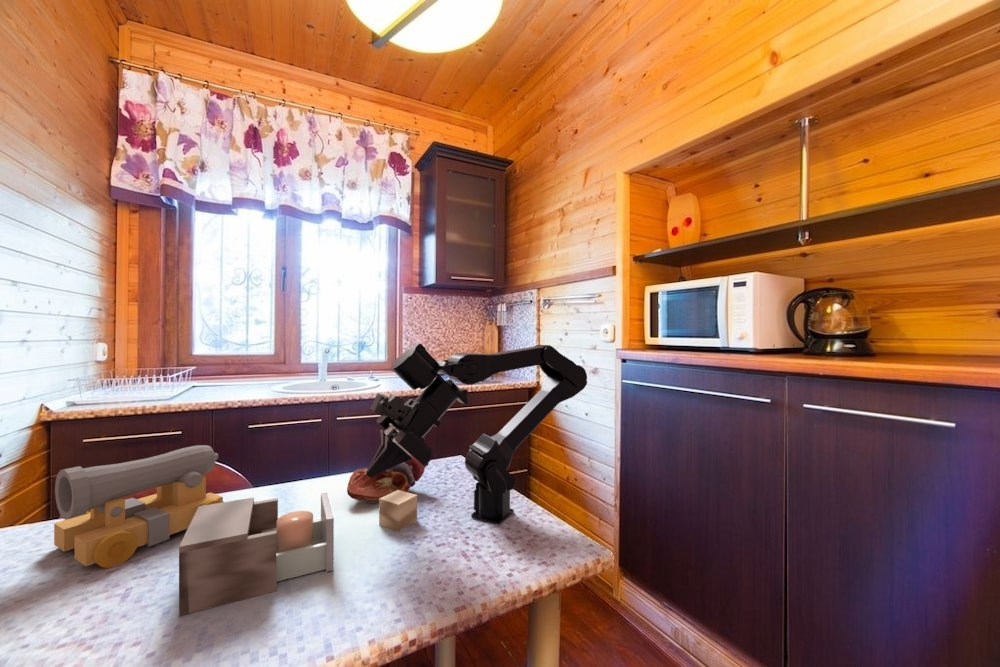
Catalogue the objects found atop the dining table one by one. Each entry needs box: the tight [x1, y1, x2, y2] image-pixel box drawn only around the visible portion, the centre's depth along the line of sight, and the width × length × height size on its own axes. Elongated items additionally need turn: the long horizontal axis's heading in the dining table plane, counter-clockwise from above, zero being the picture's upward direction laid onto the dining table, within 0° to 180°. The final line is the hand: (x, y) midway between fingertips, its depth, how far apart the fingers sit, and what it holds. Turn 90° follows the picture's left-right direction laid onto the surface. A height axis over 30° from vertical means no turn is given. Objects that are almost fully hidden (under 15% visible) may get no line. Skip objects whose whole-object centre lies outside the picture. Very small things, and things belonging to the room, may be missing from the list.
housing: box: [178, 497, 279, 617], centre depth 61 cm, size 11×14×9 cm
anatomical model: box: [346, 455, 430, 504], centre depth 90 cm, size 11×13×15 cm
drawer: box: [261, 492, 335, 583], centre depth 65 cm, size 10×11×8 cm
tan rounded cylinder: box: [277, 510, 314, 553], centre depth 65 cm, size 5×5×6 cm
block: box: [378, 490, 418, 532], centre depth 78 cm, size 5×5×5 cm
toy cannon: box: [53, 444, 224, 569], centre depth 74 cm, size 16×22×15 cm
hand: (367, 475), depth 70 cm, fingers closed
